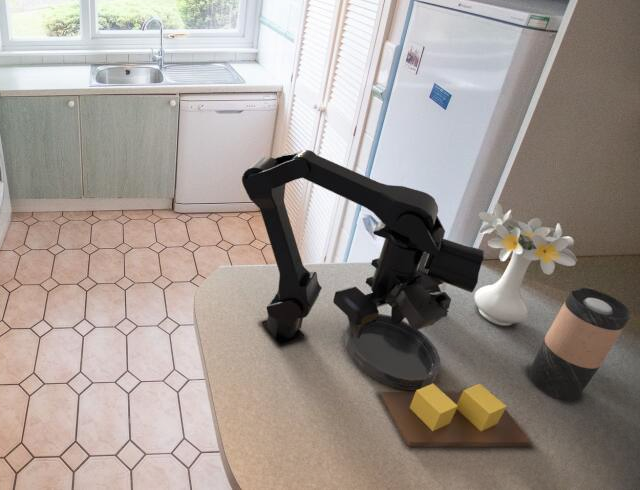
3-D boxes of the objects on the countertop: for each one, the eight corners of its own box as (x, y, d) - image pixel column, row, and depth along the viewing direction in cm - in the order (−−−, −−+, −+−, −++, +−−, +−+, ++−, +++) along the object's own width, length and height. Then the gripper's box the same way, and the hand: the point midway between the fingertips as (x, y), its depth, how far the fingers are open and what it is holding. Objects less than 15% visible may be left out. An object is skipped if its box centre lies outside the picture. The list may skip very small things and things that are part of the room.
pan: (391, 403, 81) (395, 391, 80) (326, 336, 95) (329, 324, 94) (455, 376, 86) (460, 364, 85) (385, 316, 100) (388, 305, 99)
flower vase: (478, 281, 110) (515, 193, 100) (557, 341, 94) (612, 243, 83) (433, 289, 108) (466, 199, 97) (506, 352, 91) (555, 252, 81)
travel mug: (585, 409, 80) (639, 326, 72) (530, 389, 84) (575, 307, 75) (575, 377, 86) (623, 297, 78) (524, 359, 90) (565, 281, 81)
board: (407, 446, 74) (409, 442, 74) (380, 396, 83) (381, 392, 82) (528, 446, 74) (531, 442, 74) (489, 396, 83) (491, 391, 82)
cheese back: (432, 431, 75) (440, 413, 74) (409, 407, 79) (416, 390, 77) (449, 423, 77) (458, 406, 75) (425, 400, 81) (433, 383, 79)
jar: (421, 324, 98) (438, 281, 93) (385, 301, 104) (398, 260, 99) (442, 307, 102) (458, 265, 97) (405, 286, 109) (419, 246, 103)
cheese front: (480, 431, 75) (490, 414, 74) (455, 407, 79) (463, 390, 77) (497, 423, 77) (506, 406, 75) (471, 400, 81) (479, 383, 79)
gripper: (396, 310, 66) (371, 382, 73) (485, 281, 72) (453, 350, 79) (340, 262, 76) (322, 330, 83) (422, 240, 82) (399, 305, 88)
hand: (375, 330), depth 83 cm, fingers open, 9 cm apart
